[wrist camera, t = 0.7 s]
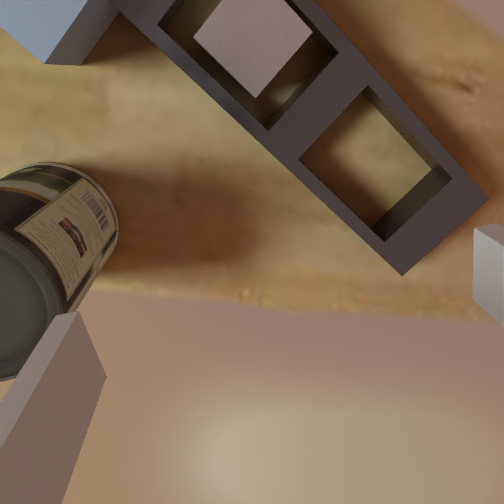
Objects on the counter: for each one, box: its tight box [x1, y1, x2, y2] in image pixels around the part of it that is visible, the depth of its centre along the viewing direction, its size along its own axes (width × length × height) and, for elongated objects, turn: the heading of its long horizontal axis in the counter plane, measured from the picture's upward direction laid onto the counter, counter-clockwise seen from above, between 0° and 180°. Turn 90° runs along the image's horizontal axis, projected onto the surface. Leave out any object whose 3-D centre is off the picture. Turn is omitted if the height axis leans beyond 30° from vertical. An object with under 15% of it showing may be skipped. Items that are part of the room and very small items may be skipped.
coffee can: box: [0, 162, 119, 382], centre depth 30 cm, size 10×10×14 cm
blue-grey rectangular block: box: [0, 0, 119, 66], centre depth 27 cm, size 5×5×7 cm
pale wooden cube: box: [193, 0, 312, 98], centre depth 28 cm, size 5×5×7 cm
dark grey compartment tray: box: [108, 0, 489, 276], centre depth 32 cm, size 30×9×4 cm, turn 47°
